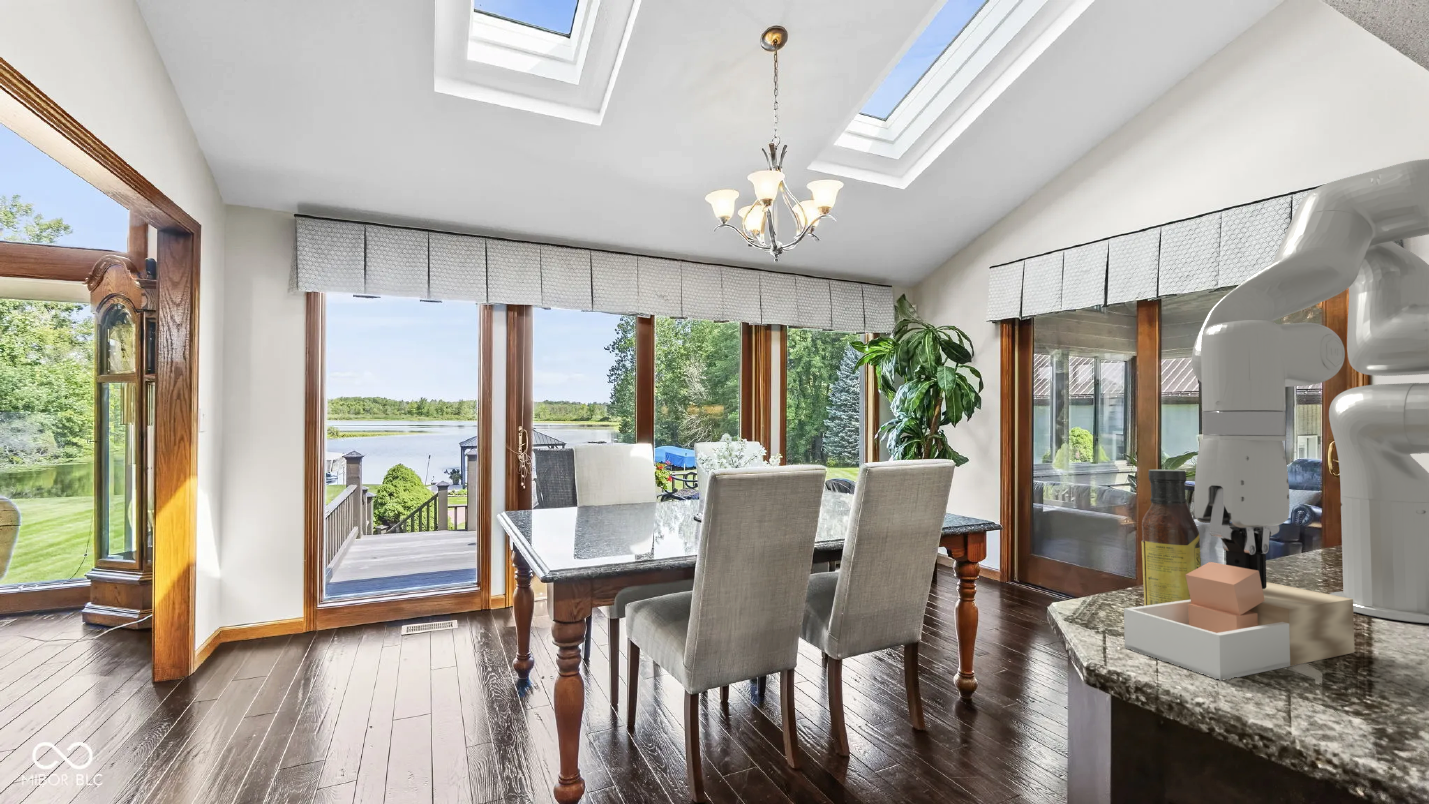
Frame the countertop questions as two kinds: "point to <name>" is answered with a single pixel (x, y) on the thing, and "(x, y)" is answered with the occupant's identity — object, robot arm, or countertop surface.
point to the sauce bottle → (1168, 540)
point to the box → (1205, 642)
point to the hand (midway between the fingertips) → (1246, 586)
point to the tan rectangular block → (1309, 621)
